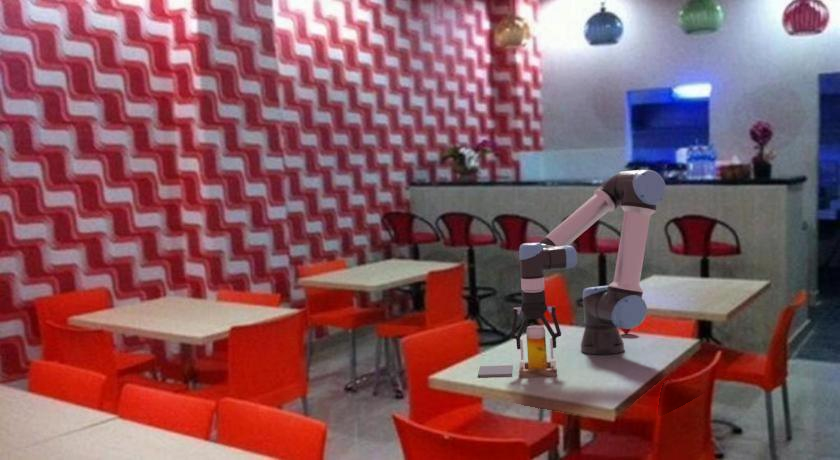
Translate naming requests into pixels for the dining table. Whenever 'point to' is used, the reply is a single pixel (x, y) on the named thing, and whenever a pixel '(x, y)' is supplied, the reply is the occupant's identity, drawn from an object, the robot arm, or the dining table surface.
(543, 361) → the glass of beer
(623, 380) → the dining table surface
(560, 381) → the dining table surface
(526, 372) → the tray
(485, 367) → the coaster
